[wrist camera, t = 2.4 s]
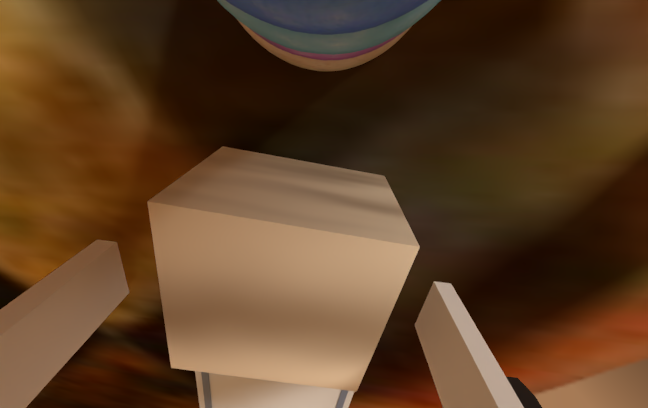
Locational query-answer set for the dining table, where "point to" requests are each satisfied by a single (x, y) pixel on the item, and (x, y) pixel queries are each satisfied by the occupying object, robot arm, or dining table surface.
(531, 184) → the dining table surface
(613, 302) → the dining table surface
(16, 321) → the robot arm
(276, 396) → the board
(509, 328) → the dining table surface
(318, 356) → the birch block
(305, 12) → the stacking toy
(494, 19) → the dining table surface
